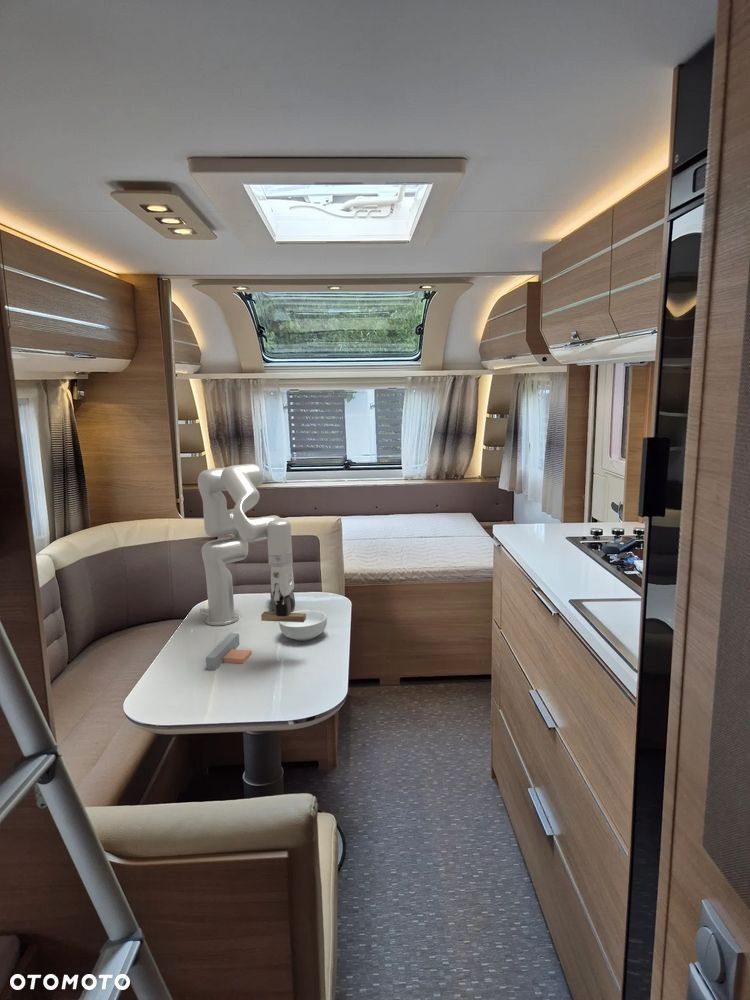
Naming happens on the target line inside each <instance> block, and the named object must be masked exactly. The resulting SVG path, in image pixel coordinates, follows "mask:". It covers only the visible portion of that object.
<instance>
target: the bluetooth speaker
mask: <svg viewBox="0 0 750 1000" xmlns="http://www.w3.org/2000/svg"><path fill="white" fill-rule="evenodd" d="M269 590H270V593H269V594H270V602H271V605H272V609H273V610H274V612H276V601H274V596H273V595H272V592H271V588H270V589H269ZM293 590H294V589H293ZM293 590H292V591H291V592H290V593H289V595H290V602H291V612H294V610H295V608H296V598H295V593H294V591H293Z"/></svg>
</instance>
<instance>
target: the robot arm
mask: <svg viewBox="0 0 750 1000" xmlns="http://www.w3.org/2000/svg"><path fill="white" fill-rule="evenodd" d="M263 482H264V474H263V471H262V468H260V466H259V465H257V464H255V463H244V464H235V465H230V466H227V467H215V468H210V469H205V470H202V471H201V472H200V473H199V475H198V477H197V486H198V491H199V494H200V496H201V497H200V498H201V500H202V507H203V508H202V509H203V511H202V512H203V525H204V526H203V527H204V531H205V534H206V535H207V536H208V537H210V538H217V537H224V536H230V537H225V538H218V539H212V540H210V541H207V542H205V543H204V544H203V545H202V546H201V557H202V561H203V564H204V570H205V571H204V572H205V580H206V592H207V605H208V606H207V607H208V608H200V609H199V612H198V613H199V615H200V616H206V617H205V619H204V622H205V624H207V625H209V626H216V627H217V626H226V625H231V624H233V623H235V622H237V621H238V620H239V619H240V615H239V614H238V613H237V612H235V600H234V587H233V575H232V573H231V571H230V570H229V568H228V567H226V564H230V563H235V562H239V561H242V560H245V559H247V557H248V554H249V543H257V542H261V541H262V542H263V541H265V540H266V541H267V554H268V565H270V589H271V592H272V595H273V596H274V601H276V613H277V616H286V615H287V610H286V604H285V596H287V595H289V593H290V592H291V591H292V590H294V588H295V581H294V580H295V578H294V577H295V576H294V570H293V562H294V561H293V545H292V544H293V543H292V541H293V540H292V527H291V522H290V520H288V519H284V518H281V517H280V516H278V515H275V514H274V515H268V516H259V517H254V518H248V517H247V515H246V512H248V511H250V510H251V509H253V508H254V507H256V505H257V504H258V502H259V501H260V492H259V490H258V489H257V488H258V487H261V485H262V484H263ZM225 491H226V492H227V493H228V494H229V495H230V497H231V498H232V500H233V502H234V503H235V504H234V506H233V508H231V509H228V507H227V506H228V504H227V503H228V502H227V498H226V496H225V494H224V493H223V492H225ZM231 535H232V536H231ZM280 597H282V598H280Z"/></svg>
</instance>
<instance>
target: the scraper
mask: <svg viewBox="0 0 750 1000" xmlns="http://www.w3.org/2000/svg"><path fill="white" fill-rule="evenodd" d="M280 598H282V597H280ZM285 604H286V610H287V615H286V616H277V613H276V612H275V611H263V612H262V613H261V615H260V617H261V621H262V622H279V621H281V622H304V621H305V620H306V613H291V602H290V595H287V596H285Z"/></svg>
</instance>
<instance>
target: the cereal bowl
mask: <svg viewBox="0 0 750 1000" xmlns="http://www.w3.org/2000/svg"><path fill="white" fill-rule="evenodd" d="M291 613H306V620H305V621H304V622H281V621H278V624H279V625H278V626H279V629H280V632H281V633H282V634H283V635H284V636H285V637H287V638H289V639H294V640H296V641H300V642H302V641H309V640H312V639H314V638H315V637H317V636H319V635H321V634H322V633H323V632H324V631H325V629H326V628H327V623H328V621H327V620H328V616H327V614H326V613H325V612H323V611H321V610H314V609H313V610H312V609H301V610H295V611H294V610H293V612H291Z"/></svg>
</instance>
